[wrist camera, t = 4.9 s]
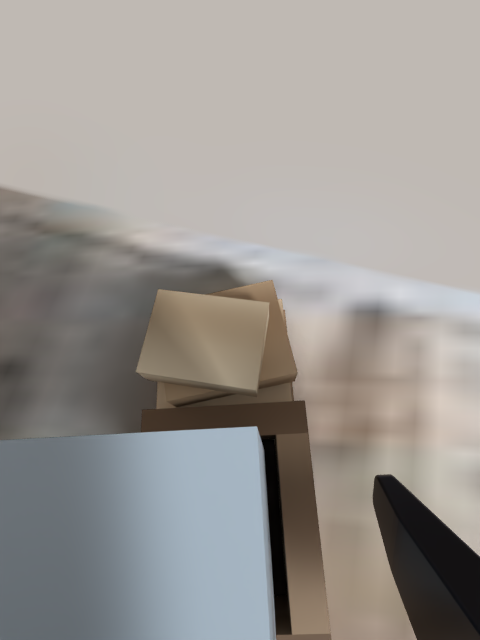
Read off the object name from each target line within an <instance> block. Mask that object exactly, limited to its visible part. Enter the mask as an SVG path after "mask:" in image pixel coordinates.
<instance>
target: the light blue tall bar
mask: <svg viewBox="0 0 480 640" xmlns="http://www.w3.org/2000/svg"><path fill="white" fill-rule="evenodd" d="M0 640H276V628H275V609H274V590H273V573H272V558H271V543H270V528H269V513H268V498H267V483H266V468H265V453H264V448H263V445H262V441H261V438H260V435H259V431H258V428H257V426H254V427H236V428H217V429H199V430H180V431H161V432H143V433H124V434H106V435H87V436H69V437H50V438H31V439H13V440H0Z"/></svg>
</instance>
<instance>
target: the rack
mask: <svg viewBox="0 0 480 640" xmlns="http://www.w3.org/2000/svg"><path fill="white" fill-rule="evenodd" d="M283 315H284V325H285V328H286V332H287V327H286V317H285V310H283ZM290 386H291V397H292V401H288V402H270V403H252V404H235V405H217V406H200V407H182V408H164V409H147V410H142V422H141V433H143V432H161V431H180V430H199V429H217V428H236V427H254V426H257V428H258V431H259V435H260V438H261V440H272V439H274V442H275V454H276V467H277V480H278V493H279V506H280V519H281V532H282V545H283V558H284V571H285V584H286V595H274V609H275V628H276V640H331V632H330V623H329V614H328V605H327V596H326V587H325V578H324V569H323V560H322V551H321V542H320V533H319V524H318V515H317V506H316V497H315V488H314V479H313V470H312V461H311V453H310V444H309V435H308V426H307V417H306V408H305V401H294V397H293V387H292V382H290Z"/></svg>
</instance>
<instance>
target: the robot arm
mask: <svg viewBox="0 0 480 640" xmlns="http://www.w3.org/2000/svg"><path fill="white" fill-rule="evenodd" d="M373 505H374V509H375V513H376V517H377V520H378V524H379V528H380V531H381V535H382V539H383V542H384V546H385V550H386V554H387V557H388V561H389V564H390V568H391V571H392V574H393V577H394V580H395V583H396V585H397V588H398V591H399V593H400V596H401V598H402V601H403V604H404V606H405V609H406V612H407V614H408V617H409V620H410V622H411V625H412V628H413V630H414V633H415V635H416V638H417V640H480V556H478V555H477V554H476V553H475V552H474V551H473V550H472V549H471V548H470V547H469V546H468V545H467V544H466V543H465V542H463V541H462V540H461V539H460V538H459V537H458V536H457V535H456V534H455V533H454V532H453V531H452V530H451V529H450V528H448V527H447V526H446V525H445V524H444V523H443V522H442V521H441V520H440V519H439V518H438V517H437V516H436V515H435V514H434V513H432V512H431V511H430V510H429V509H428V508H427V507H426V506H425V505H424V504H423V503H422V502H421V501H420V500H419V499H417V498H416V497H415V496H414V495H413V494H412V493H411V492H410V491H409V490H408V489H407V488H406V487H405V486H404V485H402V484H401V483H400V482H399V481H398V480H397V479H396V478H395V477H394V476H392V475H389V474H388V475H376V476H375V479H374V489H373Z"/></svg>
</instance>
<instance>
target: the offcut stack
mask: <svg viewBox="0 0 480 640" xmlns="http://www.w3.org/2000/svg"><path fill="white" fill-rule="evenodd" d="M136 373H138V374H140V375H141V376H143V377H144V378H146V379H147V380H150V381H156V382H157V407H156V409H164V408H182V407H200V406H217V405H235V404H252V403H270V402H288V401H292V397H291V386H290V382H294V381H295V378H296V376H297V373H298V372H297V369H296V365H295V361H294V358H293V354H292V350H291V347H290V343H289V339H288V336H287V332H286V328H285V325H284V315H283V305H282V299H277V295H276V291H275V288H274V284H273V280H270V281H265V282H261V283H256V284H251V285H247V286H242V287H238V288H233V289H228V290H224V291H219V292H214V293H210V294H205V295H203V294H194V293H186V292H178V291H170V290H161V289H158V292H157V295H156V299H155V303H154V306H153V310H152V314H151V317H150V321H149V325H148V328H147V332H146V336H145V339H144V343H143V347H142V350H141V354H140V358H139V361H138V365H137V369H136Z"/></svg>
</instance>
